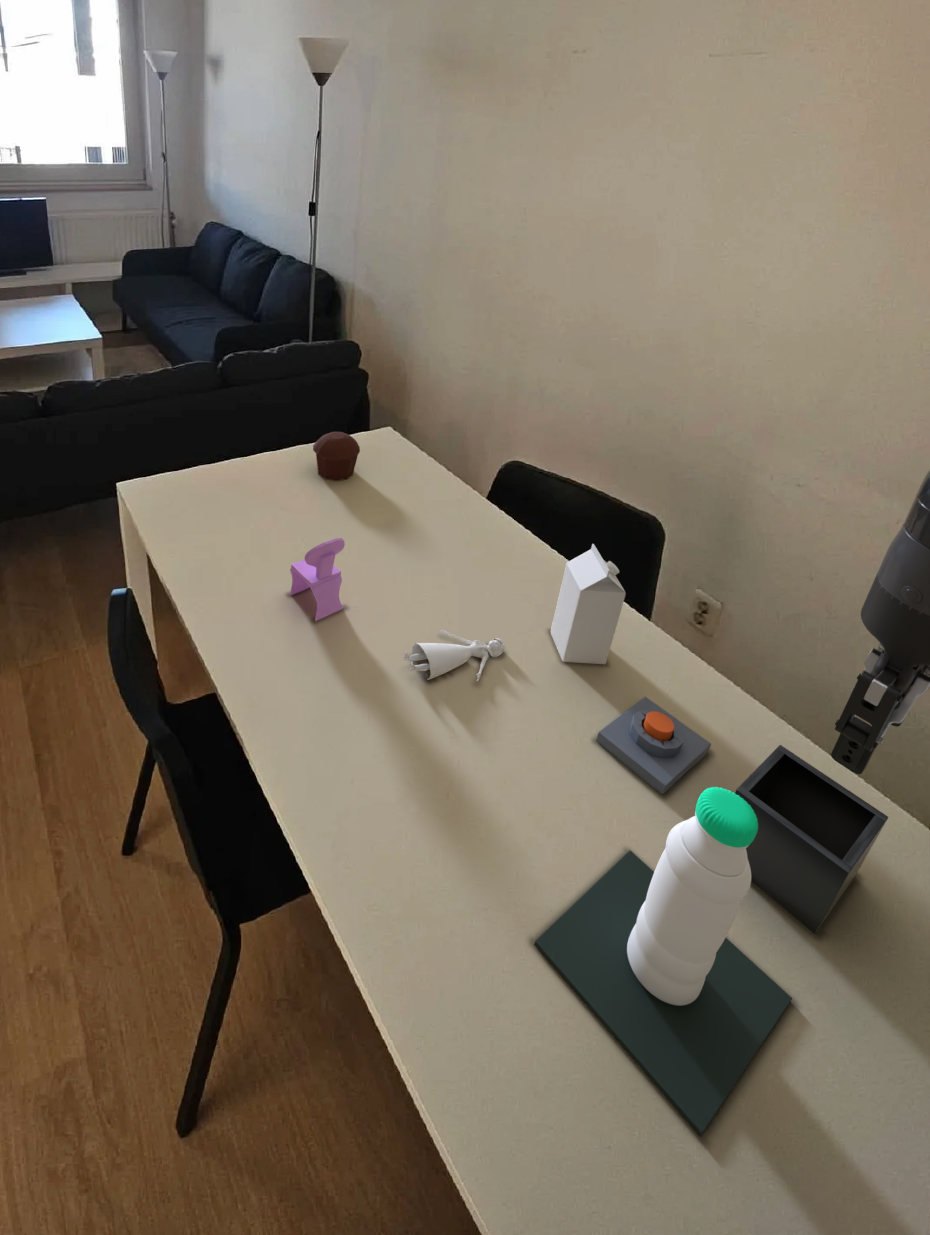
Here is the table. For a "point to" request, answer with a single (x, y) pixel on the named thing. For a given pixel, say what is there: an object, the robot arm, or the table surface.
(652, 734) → the button
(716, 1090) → the mat
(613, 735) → the control block
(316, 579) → the toy chair
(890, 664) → the robot arm
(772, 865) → the dark grey storage bin
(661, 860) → the water bottle
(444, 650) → the woman figurine
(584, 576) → the milk carton
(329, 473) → the muffin
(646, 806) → the table surface
